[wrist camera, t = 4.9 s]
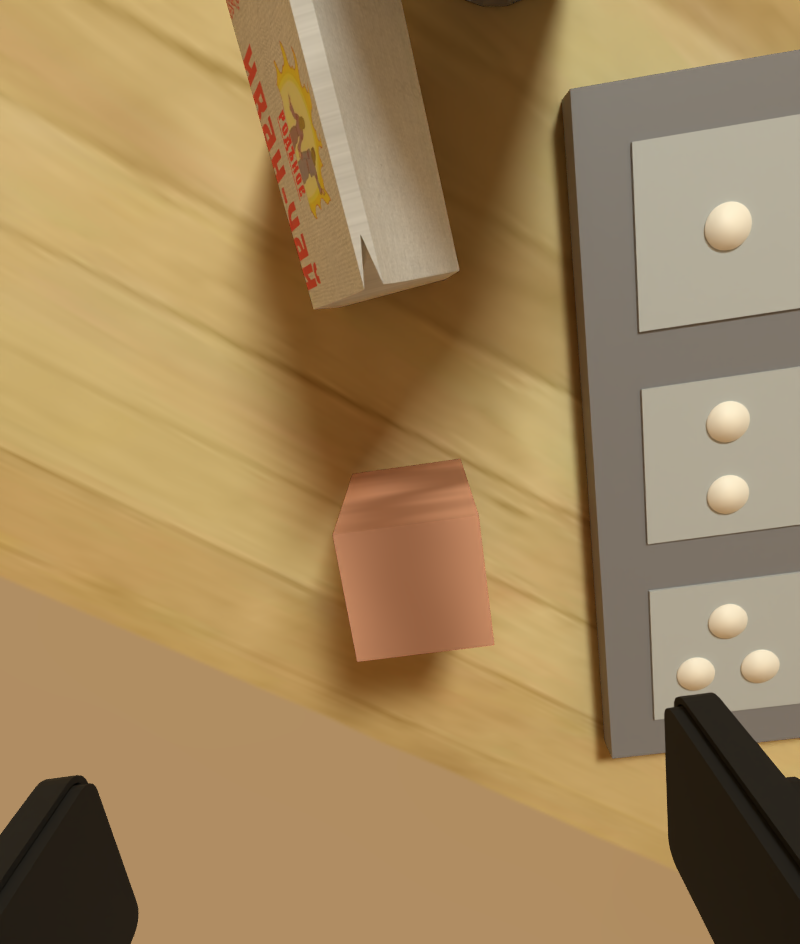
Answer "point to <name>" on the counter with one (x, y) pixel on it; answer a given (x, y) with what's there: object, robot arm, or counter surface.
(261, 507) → the counter surface
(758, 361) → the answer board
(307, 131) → the gable top carton
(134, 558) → the counter surface
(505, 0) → the beverage cup
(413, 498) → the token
